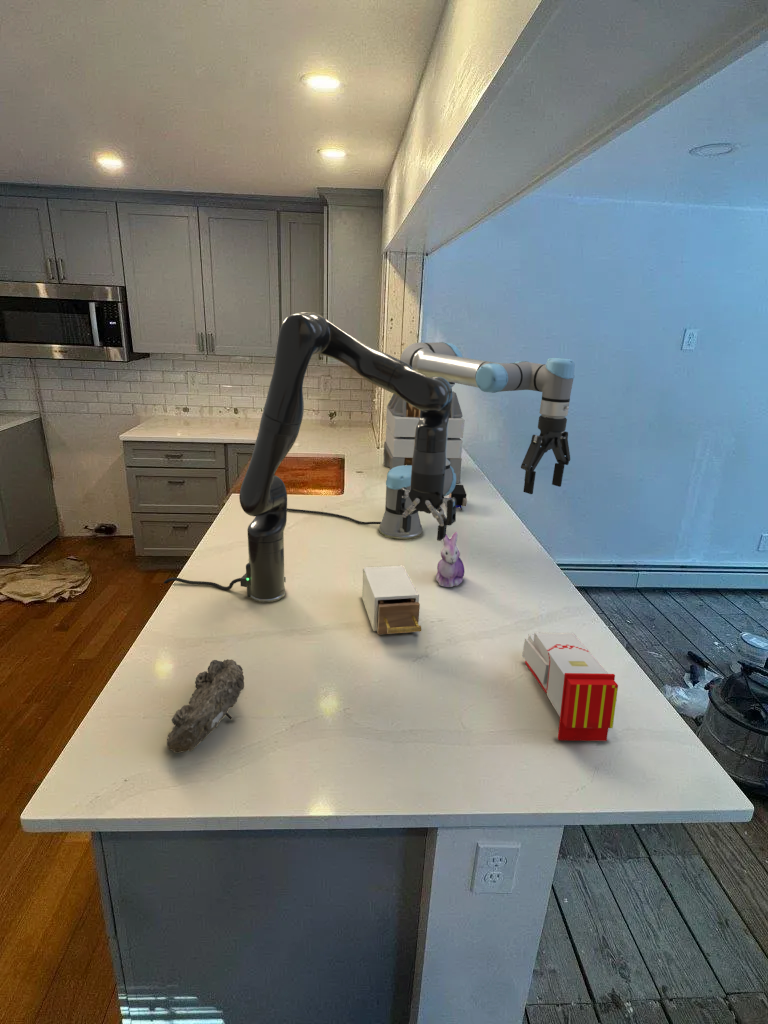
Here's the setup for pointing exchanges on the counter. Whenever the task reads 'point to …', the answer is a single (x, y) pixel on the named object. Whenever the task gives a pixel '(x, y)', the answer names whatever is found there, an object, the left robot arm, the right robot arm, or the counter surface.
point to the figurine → (450, 563)
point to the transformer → (402, 434)
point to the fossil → (206, 705)
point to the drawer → (398, 616)
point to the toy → (573, 684)
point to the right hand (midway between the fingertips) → (542, 489)
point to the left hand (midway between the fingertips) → (423, 535)
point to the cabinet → (385, 588)
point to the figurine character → (459, 496)
